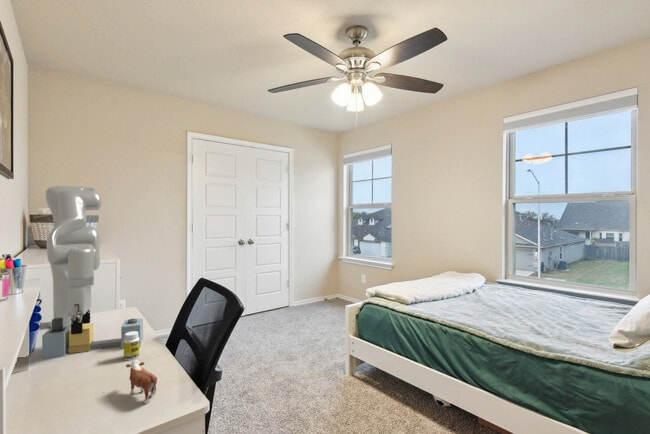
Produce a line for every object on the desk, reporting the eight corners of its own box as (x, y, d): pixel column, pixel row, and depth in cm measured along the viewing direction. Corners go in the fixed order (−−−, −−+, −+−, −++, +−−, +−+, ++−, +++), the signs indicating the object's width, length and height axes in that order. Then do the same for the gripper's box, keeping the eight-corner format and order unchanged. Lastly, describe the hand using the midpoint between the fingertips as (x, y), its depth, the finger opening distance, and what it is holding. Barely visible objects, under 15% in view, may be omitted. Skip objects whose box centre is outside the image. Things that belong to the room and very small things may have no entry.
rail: (69, 349, 119) (69, 344, 119) (124, 343, 126) (124, 337, 126) (66, 353, 117) (66, 347, 117) (122, 346, 123) (122, 340, 123)
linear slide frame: (51, 349, 120) (51, 324, 119) (142, 338, 131) (142, 315, 130) (42, 359, 112) (42, 332, 112) (140, 346, 123) (140, 322, 123)
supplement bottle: (132, 361, 111) (132, 336, 111) (120, 359, 112) (120, 335, 112) (142, 355, 116) (142, 331, 116) (131, 353, 117) (131, 330, 117)
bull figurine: (139, 383, 98) (139, 356, 97) (160, 400, 89) (160, 370, 89) (123, 389, 94) (122, 361, 94) (143, 408, 86) (143, 377, 85)
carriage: (73, 347, 121) (73, 325, 121) (93, 345, 123) (93, 323, 123) (69, 353, 116) (68, 330, 116) (89, 350, 118) (89, 328, 118)
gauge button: (53, 329, 118) (53, 318, 117) (64, 328, 119) (64, 317, 119) (50, 332, 115) (50, 320, 115) (61, 331, 116) (61, 319, 116)
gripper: (75, 276, 126) (75, 321, 127) (59, 288, 110) (59, 339, 111) (99, 275, 129) (99, 319, 129) (86, 287, 113) (86, 336, 114)
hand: (80, 328), depth 120 cm, fingers open, 9 cm apart
